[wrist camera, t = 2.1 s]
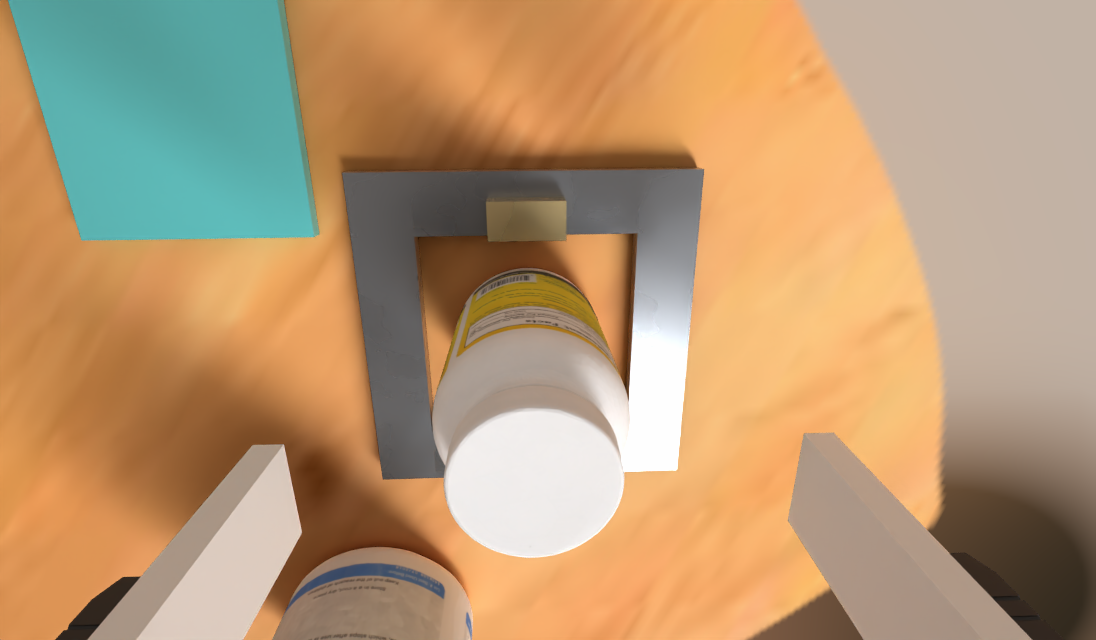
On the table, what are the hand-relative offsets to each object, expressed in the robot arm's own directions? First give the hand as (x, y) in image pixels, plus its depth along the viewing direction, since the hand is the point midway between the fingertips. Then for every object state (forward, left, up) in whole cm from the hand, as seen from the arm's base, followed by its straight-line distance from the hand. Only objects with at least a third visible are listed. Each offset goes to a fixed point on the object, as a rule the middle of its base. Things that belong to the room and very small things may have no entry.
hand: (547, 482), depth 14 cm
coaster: (-13, +9, -11) cm, 19 cm away
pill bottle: (0, 0, -11) cm, 11 cm away
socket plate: (0, 0, -11) cm, 11 cm away
